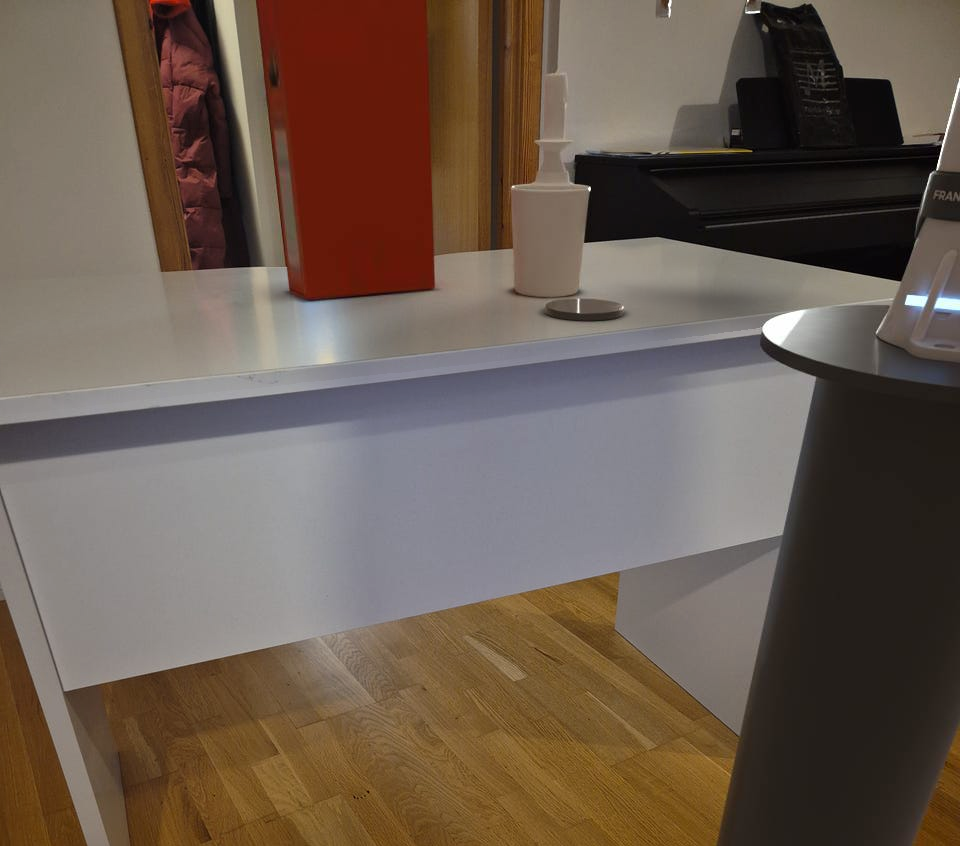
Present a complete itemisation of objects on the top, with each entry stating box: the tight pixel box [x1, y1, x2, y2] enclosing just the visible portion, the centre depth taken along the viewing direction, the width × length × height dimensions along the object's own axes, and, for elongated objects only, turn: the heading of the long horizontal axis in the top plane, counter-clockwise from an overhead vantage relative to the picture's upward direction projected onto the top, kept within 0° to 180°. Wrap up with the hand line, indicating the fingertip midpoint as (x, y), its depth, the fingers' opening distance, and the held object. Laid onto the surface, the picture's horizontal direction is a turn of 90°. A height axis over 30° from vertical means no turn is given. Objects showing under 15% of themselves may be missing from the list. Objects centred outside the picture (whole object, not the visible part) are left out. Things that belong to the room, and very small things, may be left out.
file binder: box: [255, 0, 436, 301], centre depth 101 cm, size 8×17×32 cm, turn 118°
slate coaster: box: [544, 298, 624, 322], centre depth 97 cm, size 9×9×1 cm
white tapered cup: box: [509, 183, 591, 298], centre depth 105 cm, size 10×10×12 cm
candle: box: [529, 67, 575, 188], centre depth 99 cm, size 5×5×12 cm
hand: (707, 14), depth 90 cm, fingers open, 8 cm apart
